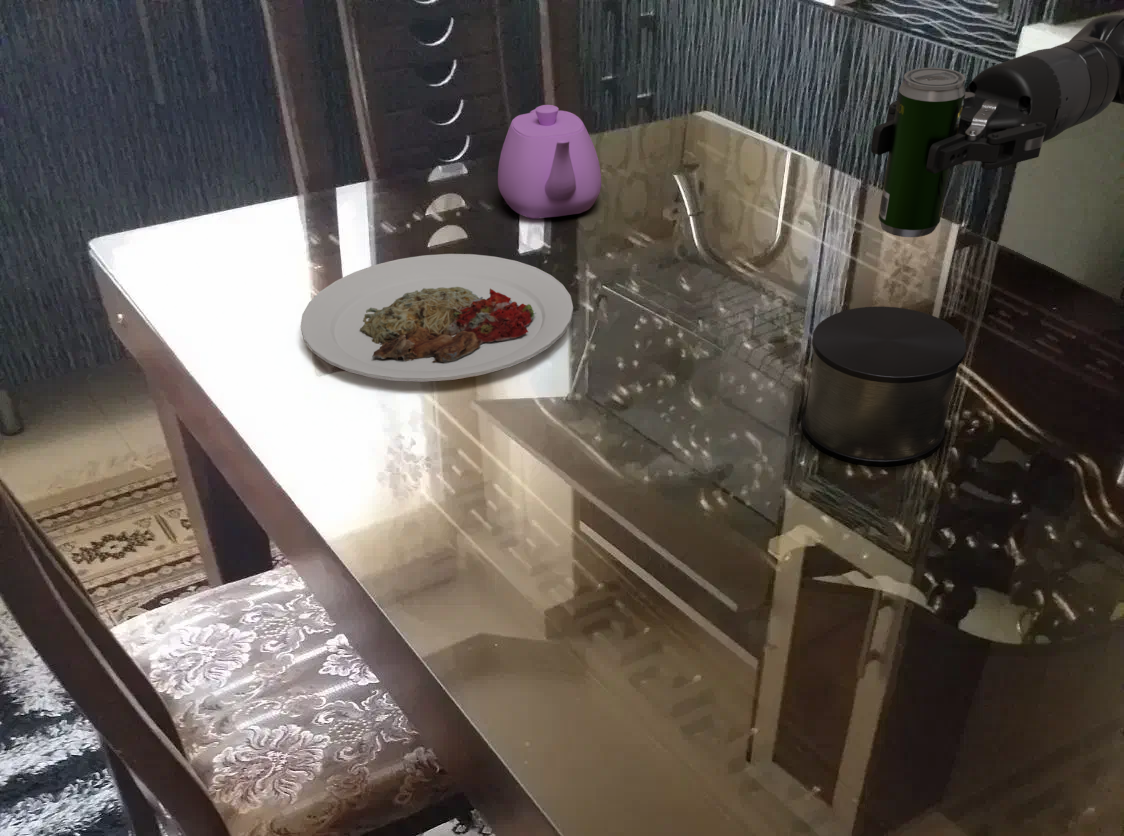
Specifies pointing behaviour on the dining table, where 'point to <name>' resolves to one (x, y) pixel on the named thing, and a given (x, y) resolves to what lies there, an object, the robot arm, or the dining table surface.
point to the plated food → (436, 317)
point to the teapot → (548, 165)
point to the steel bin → (881, 385)
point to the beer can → (919, 150)
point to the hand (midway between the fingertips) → (903, 150)
